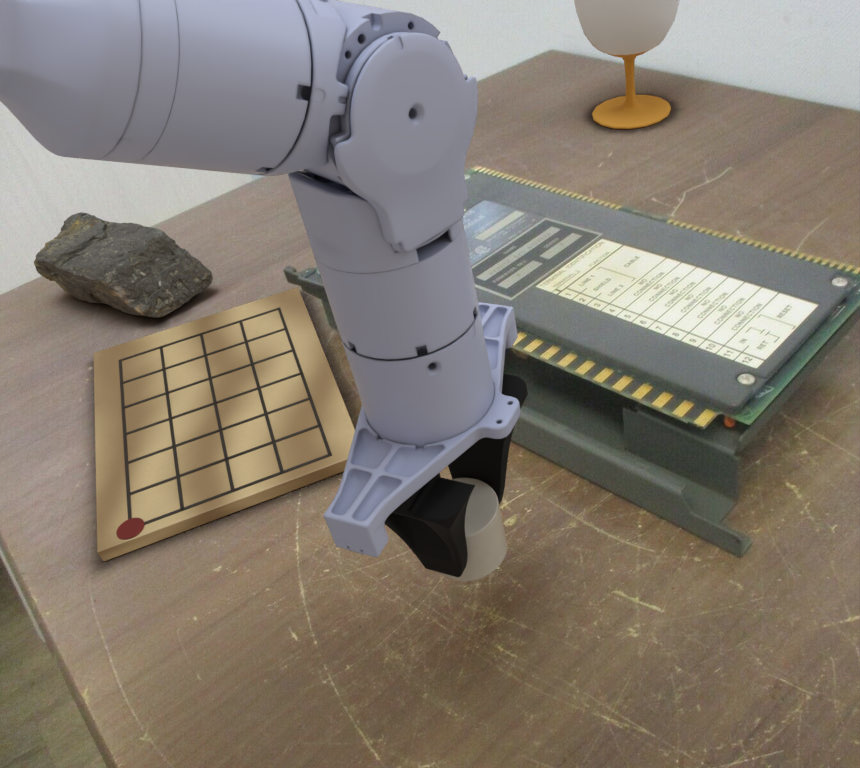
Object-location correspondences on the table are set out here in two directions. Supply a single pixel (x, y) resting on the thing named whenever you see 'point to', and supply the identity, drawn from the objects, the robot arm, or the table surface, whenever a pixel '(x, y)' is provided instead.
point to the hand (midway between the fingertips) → (464, 533)
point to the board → (212, 421)
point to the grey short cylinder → (482, 532)
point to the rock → (122, 266)
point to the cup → (627, 52)
